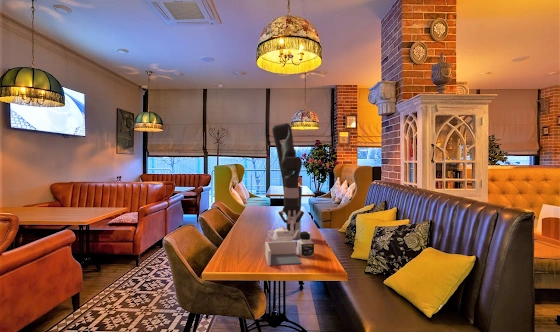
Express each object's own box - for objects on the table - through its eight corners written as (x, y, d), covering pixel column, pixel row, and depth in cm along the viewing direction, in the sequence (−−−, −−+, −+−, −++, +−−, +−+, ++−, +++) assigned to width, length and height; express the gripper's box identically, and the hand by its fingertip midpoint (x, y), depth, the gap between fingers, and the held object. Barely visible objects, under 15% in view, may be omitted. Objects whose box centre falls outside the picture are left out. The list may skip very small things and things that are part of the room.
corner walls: (265, 255, 155) (265, 242, 155) (295, 253, 157) (295, 240, 157) (268, 265, 140) (268, 251, 140) (301, 264, 142) (301, 249, 142)
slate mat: (267, 255, 154) (267, 254, 154) (295, 254, 156) (295, 253, 156) (270, 265, 140) (270, 264, 140) (301, 264, 142) (301, 262, 142)
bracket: (277, 236, 144) (277, 220, 144) (276, 233, 149) (276, 218, 149) (293, 235, 145) (293, 219, 145) (291, 233, 150) (291, 217, 150)
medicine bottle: (301, 257, 152) (301, 234, 152) (296, 253, 159) (297, 231, 158) (314, 256, 154) (314, 233, 153) (309, 251, 161) (309, 230, 160)
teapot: (299, 239, 185) (299, 223, 185) (300, 245, 173) (300, 228, 172) (267, 239, 185) (267, 223, 185) (266, 245, 173) (266, 228, 173)
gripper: (278, 197, 142) (278, 233, 143) (306, 197, 145) (306, 232, 145) (276, 195, 150) (276, 229, 150) (302, 195, 152) (302, 228, 152)
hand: (291, 230), depth 148 cm, fingers closed on bracket, 1 cm apart
